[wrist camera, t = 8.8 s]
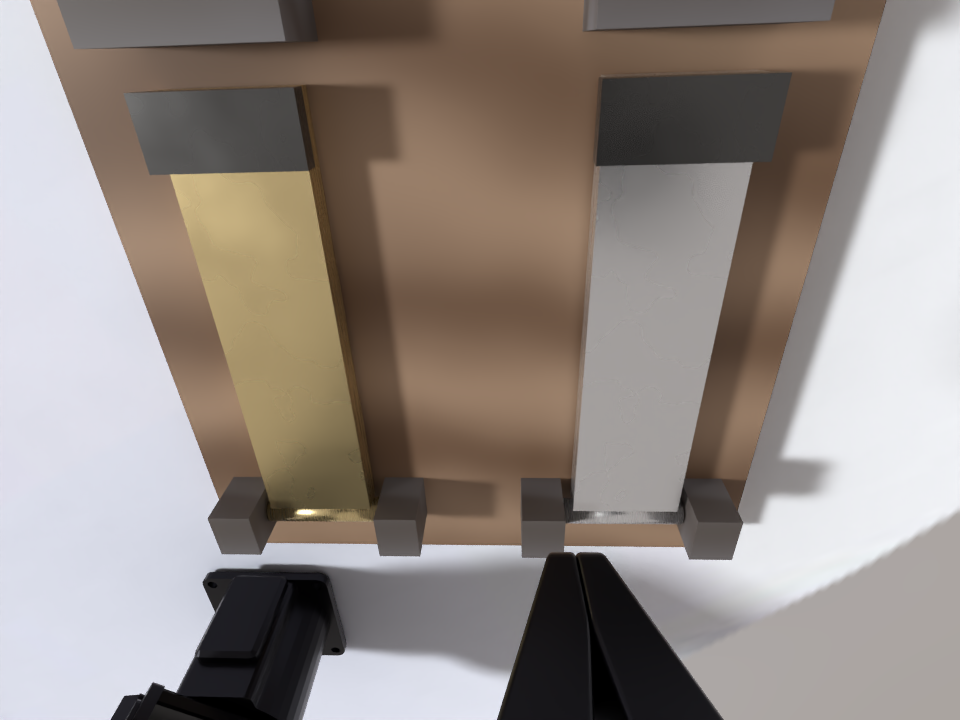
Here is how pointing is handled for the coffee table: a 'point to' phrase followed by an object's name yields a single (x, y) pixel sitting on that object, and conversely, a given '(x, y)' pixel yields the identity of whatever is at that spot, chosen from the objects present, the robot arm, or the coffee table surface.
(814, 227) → the board
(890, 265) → the coffee table surface
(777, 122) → the steel strap
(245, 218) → the brass strap
